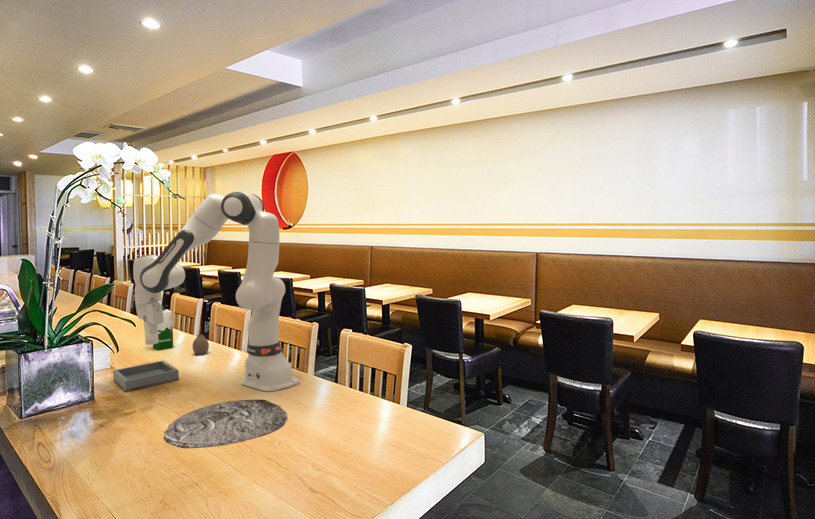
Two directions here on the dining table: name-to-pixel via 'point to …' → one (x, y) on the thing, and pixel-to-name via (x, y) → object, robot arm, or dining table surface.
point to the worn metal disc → (225, 424)
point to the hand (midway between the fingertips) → (151, 332)
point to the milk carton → (165, 331)
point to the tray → (145, 375)
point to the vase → (200, 345)
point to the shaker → (149, 333)
